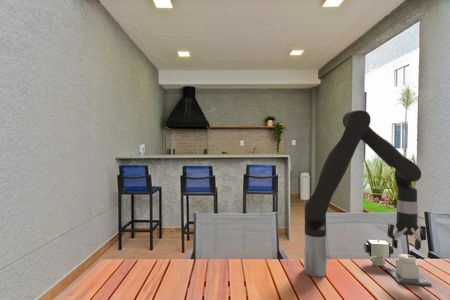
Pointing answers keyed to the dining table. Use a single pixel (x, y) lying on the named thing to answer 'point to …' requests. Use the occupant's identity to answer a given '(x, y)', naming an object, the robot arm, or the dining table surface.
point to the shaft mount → (401, 280)
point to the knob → (407, 266)
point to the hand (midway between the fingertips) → (406, 248)
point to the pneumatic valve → (378, 251)
